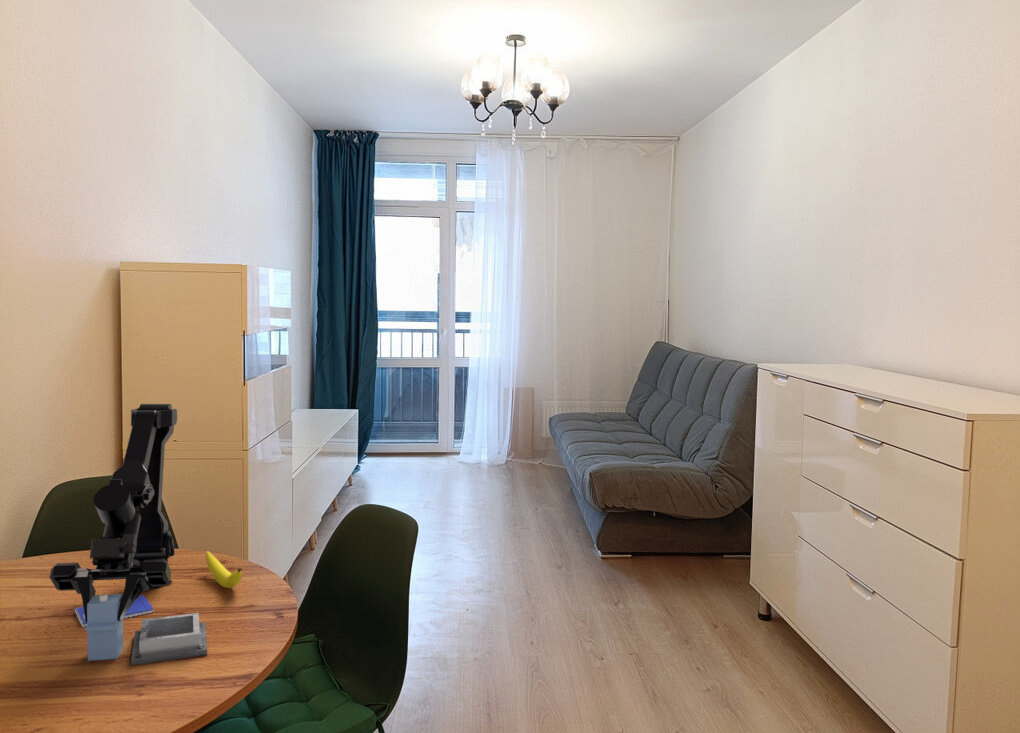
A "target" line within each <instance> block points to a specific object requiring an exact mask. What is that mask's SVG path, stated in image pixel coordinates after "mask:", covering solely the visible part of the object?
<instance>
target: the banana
mask: <svg viewBox="0 0 1020 733" xmlns="http://www.w3.org/2000/svg"><path fill="white" fill-rule="evenodd" d="M205 554H206V555H205V557H206V558H205V559H206V564H207V567H208V570H209V571H210V574H211V576H212V577H213V578H214V579H215V581H216V582H217V584H218V585H220V586H221V587H222V588H225V589H232V588H234V587H236V586H237V585H238V584H240V581H241V580H242V579H241V578H242V575H243V574H242V570H243V569H242V568H238V569H237V570H236V571H233V572H230V571H229V570H228V569H227V568H226V567H225V566H224V565H223V564H222V563H221V562H220V561H219V559H217V558H216V557H215V556H214V555H213V554H212V553H211V552H210V550H209V551H206V553H205Z"/></svg>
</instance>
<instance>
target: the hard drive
mask: <svg viewBox="0 0 1020 733" xmlns="http://www.w3.org/2000/svg"><path fill="white" fill-rule="evenodd" d="M152 612H153V613H154V607H153V606H152V604H151V603H150V602H149V601H148V599H147V598H146V597H145V595H143V594H142V595H139V597H138V598H137V599H136V600H135V601H134V602H133V604H132V605H131V607H130V608H129V610H128V611H127V613H126V614H125V616H124V617H123V620H125V619H128V617H129V618H133V616H134V617H137V616H138V615H139V616H142V614H143V615H148V614H151V613H152ZM75 613H76V614H75ZM147 613H148V614H147ZM74 614H75V615H77V616H76V618H77V619H78V620H79V623H80V625H81V627H82V628H86V627H85V626H87V623H86V620H85V614H84V607H83V606H80V607H79V606H78V607H76V608H75V609H74ZM124 618H125V619H124Z"/></svg>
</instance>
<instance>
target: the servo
mask: <svg viewBox="0 0 1020 733" xmlns="http://www.w3.org/2000/svg"><path fill="white" fill-rule="evenodd" d="M122 596H123V593H118V594H117V593H115V594H114V593H113V594H106V593H104V594H95V595H94V596H93V598H92V599H91V600H90V601H89V603H88V604H87V626H86V627H85V632H87V661H88V662H89V661H90V662H91V661H103V660H104V661H106V660H116V659H118V658H119V656H120V655H121V653H122V651H123V649H124V619H123V618H122V620H121V621H118V620H117V617H118V610H119V607H120V603H121V600H122Z"/></svg>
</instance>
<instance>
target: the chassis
mask: <svg viewBox="0 0 1020 733" xmlns="http://www.w3.org/2000/svg"><path fill="white" fill-rule="evenodd" d="M199 614H200V612H195V613H186V614H185V613H184V614H178V615H169V616H162V617H160V616H159V617H153V618H145V619H141V624H140V626H141V627H140V630H135V631H134V638H133V644H132V652H131V660H130V661H131V663H130V666H132V667H133V666H137V665H144V664H145V665H146V664H151V663H159V662H160V663H161V662H167V661H174V660H175V661H176V660H180V659H187V658H188V659H189V658H196V657H202V656H203V657H204V656H208V642H207V628H206V627H207V626H206V625H207V624H206V622H205V621H203V622H200V615H199Z"/></svg>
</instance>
